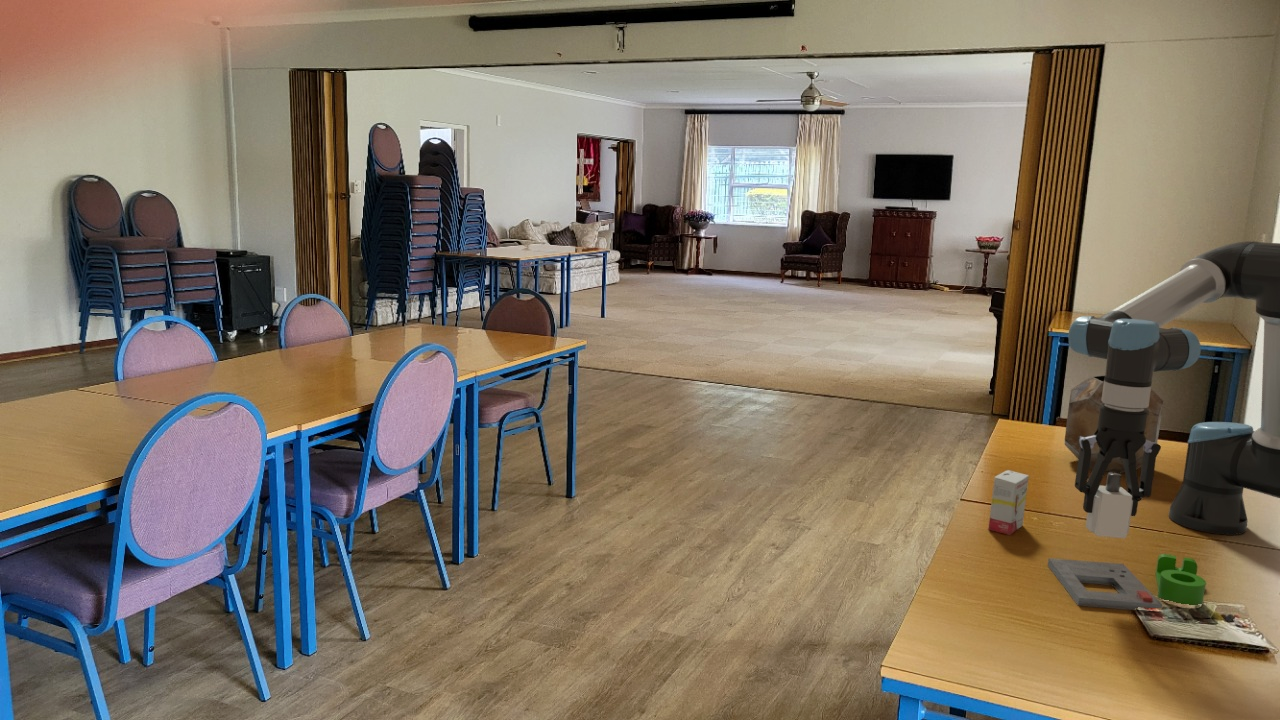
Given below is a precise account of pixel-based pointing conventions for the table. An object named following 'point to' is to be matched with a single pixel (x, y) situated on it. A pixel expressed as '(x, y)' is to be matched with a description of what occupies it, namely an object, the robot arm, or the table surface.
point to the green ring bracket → (1179, 581)
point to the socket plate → (1104, 574)
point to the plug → (1113, 508)
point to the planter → (1087, 415)
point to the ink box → (1008, 502)
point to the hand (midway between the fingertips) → (1106, 530)
